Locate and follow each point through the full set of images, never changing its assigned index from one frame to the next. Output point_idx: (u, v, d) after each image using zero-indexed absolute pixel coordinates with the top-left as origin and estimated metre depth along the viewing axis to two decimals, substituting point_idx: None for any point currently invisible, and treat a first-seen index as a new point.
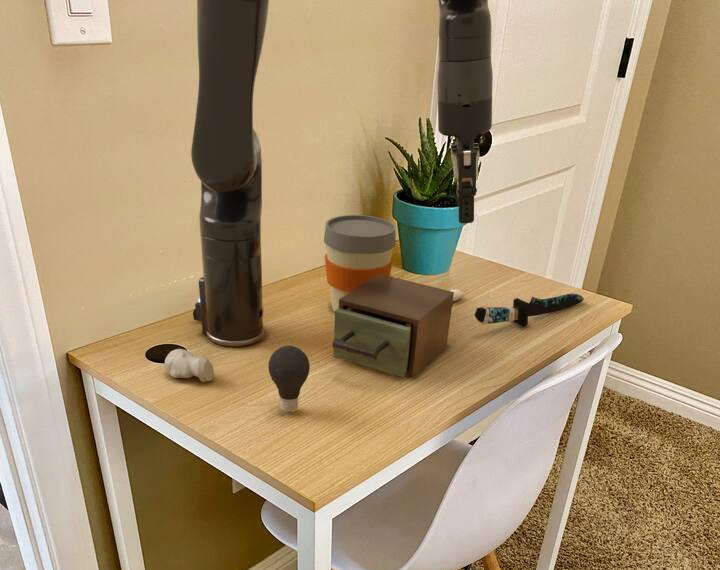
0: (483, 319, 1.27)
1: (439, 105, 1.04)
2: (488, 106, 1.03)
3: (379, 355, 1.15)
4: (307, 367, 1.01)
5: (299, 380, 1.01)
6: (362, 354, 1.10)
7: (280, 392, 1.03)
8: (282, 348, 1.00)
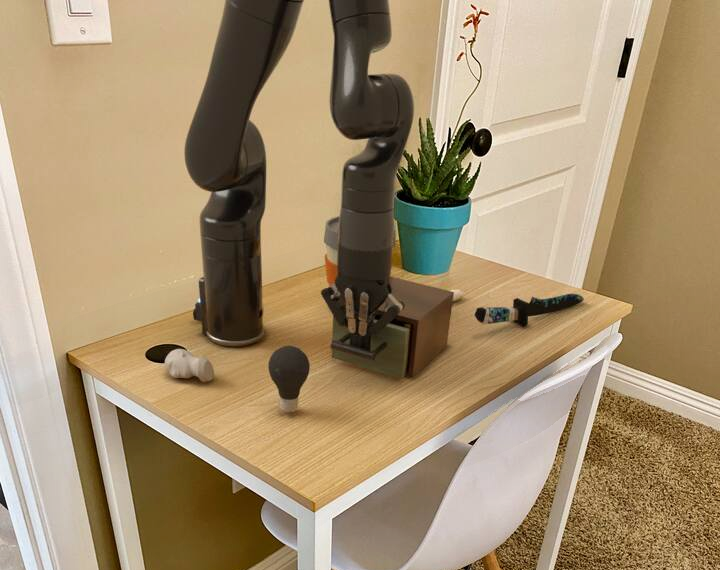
0: (483, 319, 1.27)
1: None
2: (341, 252, 1.01)
3: (377, 356, 1.14)
4: (307, 367, 1.01)
5: (299, 380, 1.01)
6: (360, 355, 1.09)
7: (280, 392, 1.03)
8: (282, 348, 1.00)
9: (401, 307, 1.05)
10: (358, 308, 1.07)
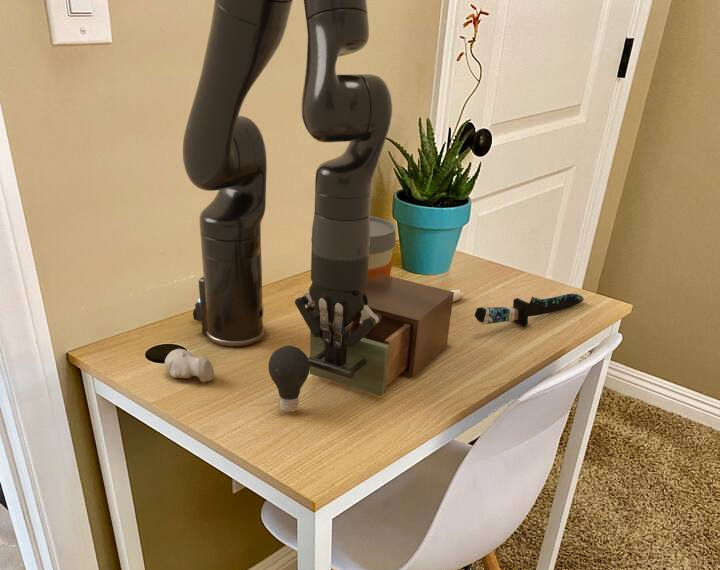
0: (483, 319, 1.27)
1: None
2: (314, 261, 0.96)
3: (357, 373, 1.09)
4: (307, 367, 1.01)
5: (299, 380, 1.01)
6: (338, 373, 1.04)
7: (280, 392, 1.03)
8: (282, 348, 1.00)
9: (377, 319, 1.00)
10: (333, 319, 1.02)
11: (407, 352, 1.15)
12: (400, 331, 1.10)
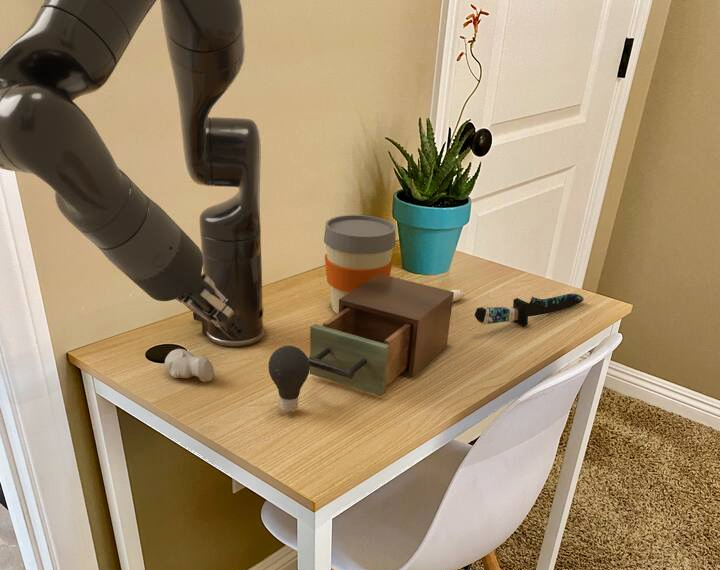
0: (483, 319, 1.27)
1: None
2: None
3: (357, 373, 1.09)
4: (307, 367, 1.01)
5: (299, 380, 1.01)
6: (338, 373, 1.04)
7: (280, 392, 1.03)
8: (282, 348, 1.00)
9: (229, 311, 0.82)
10: None
11: (407, 352, 1.15)
12: (400, 331, 1.10)
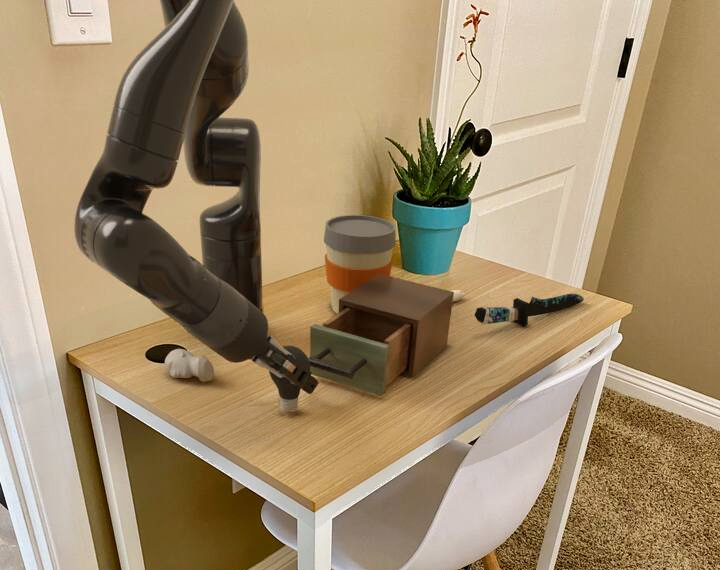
0: (483, 319, 1.27)
1: None
2: None
3: (357, 373, 1.09)
4: (307, 367, 1.01)
5: None
6: (338, 373, 1.04)
7: (280, 392, 1.03)
8: None
9: (287, 363, 0.92)
10: None
11: (407, 352, 1.15)
12: (400, 331, 1.10)
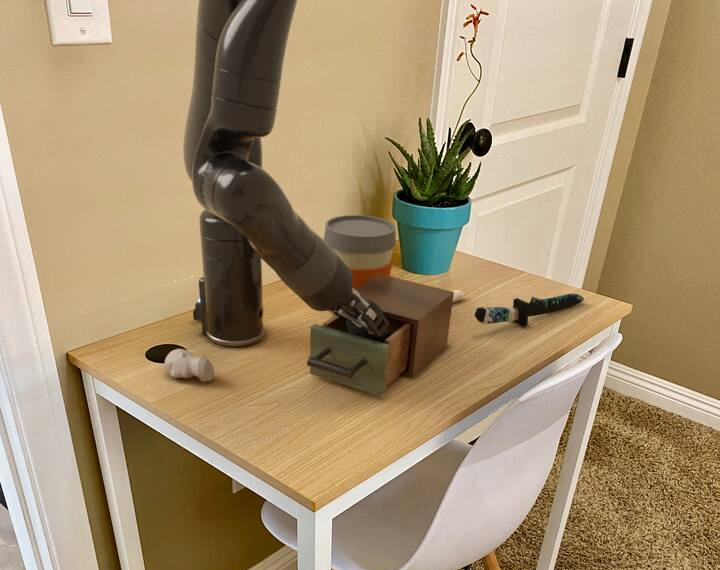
0: (483, 319, 1.27)
1: None
2: None
3: (357, 373, 1.09)
4: None
5: None
6: (338, 373, 1.04)
7: None
8: None
9: (370, 311, 1.00)
10: None
11: (407, 352, 1.15)
12: (400, 331, 1.10)
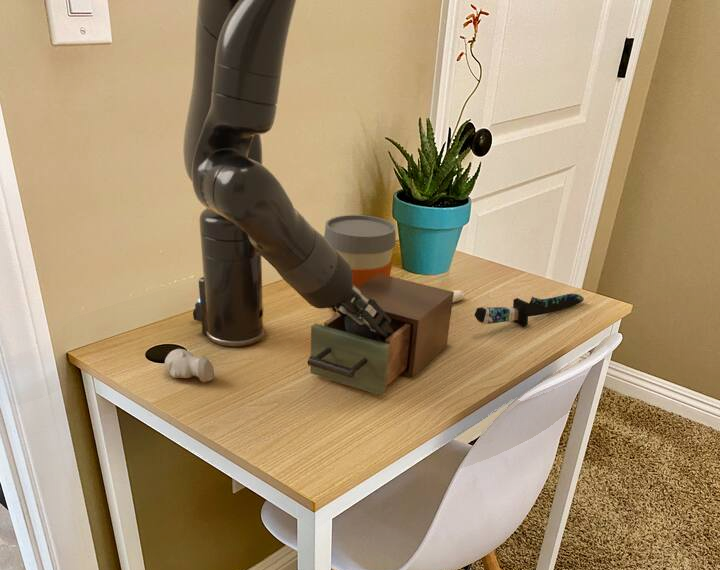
0: (483, 319, 1.27)
1: None
2: None
3: (357, 373, 1.10)
4: None
5: None
6: (338, 372, 1.05)
7: None
8: None
9: (369, 307, 1.00)
10: None
11: (408, 352, 1.15)
12: (401, 330, 1.10)
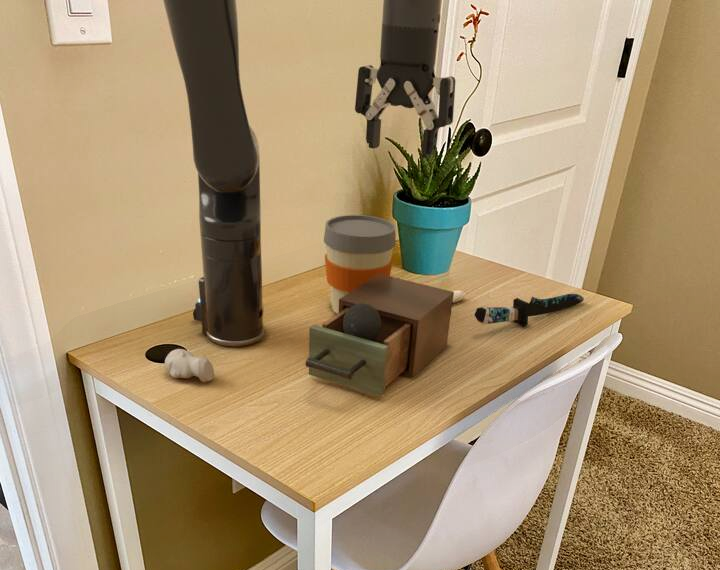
0: (483, 319, 1.27)
1: (406, 32, 0.97)
2: None
3: (356, 374, 1.09)
4: (379, 323, 1.09)
5: (372, 335, 1.09)
6: (337, 374, 1.04)
7: None
8: (356, 305, 1.08)
9: None
10: None
11: (406, 353, 1.15)
12: (399, 332, 1.10)
